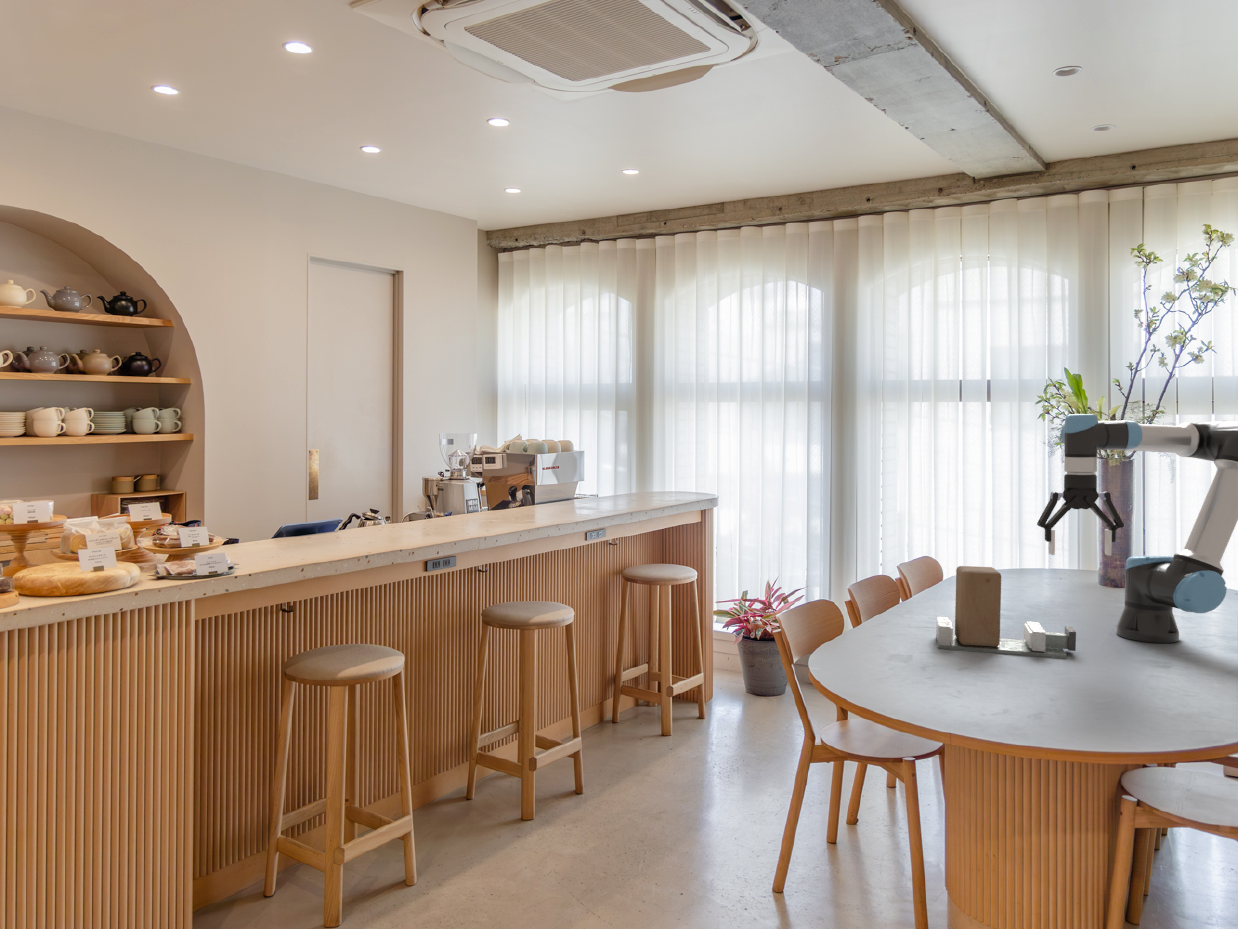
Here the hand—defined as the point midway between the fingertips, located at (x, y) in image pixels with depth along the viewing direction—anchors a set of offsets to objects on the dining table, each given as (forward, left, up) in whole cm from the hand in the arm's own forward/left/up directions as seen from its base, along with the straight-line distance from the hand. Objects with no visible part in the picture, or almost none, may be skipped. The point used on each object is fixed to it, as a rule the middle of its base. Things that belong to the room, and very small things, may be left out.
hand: (1079, 554), depth 227 cm
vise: (+19, 0, -26) cm, 32 cm away
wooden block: (+24, 0, -25) cm, 35 cm away
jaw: (+6, 0, -25) cm, 26 cm away
